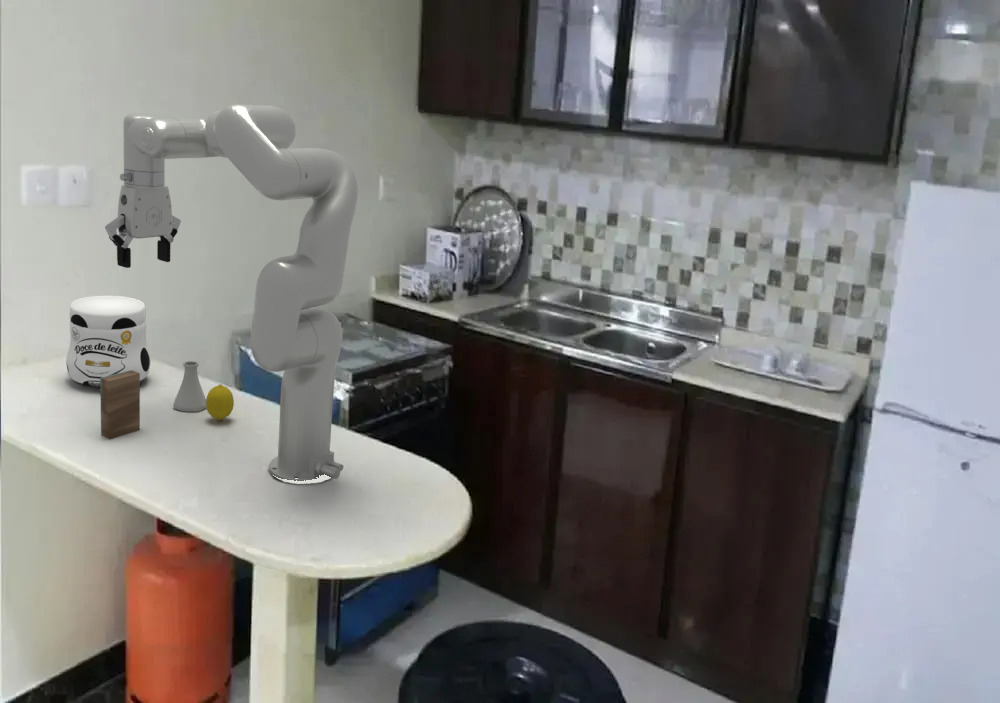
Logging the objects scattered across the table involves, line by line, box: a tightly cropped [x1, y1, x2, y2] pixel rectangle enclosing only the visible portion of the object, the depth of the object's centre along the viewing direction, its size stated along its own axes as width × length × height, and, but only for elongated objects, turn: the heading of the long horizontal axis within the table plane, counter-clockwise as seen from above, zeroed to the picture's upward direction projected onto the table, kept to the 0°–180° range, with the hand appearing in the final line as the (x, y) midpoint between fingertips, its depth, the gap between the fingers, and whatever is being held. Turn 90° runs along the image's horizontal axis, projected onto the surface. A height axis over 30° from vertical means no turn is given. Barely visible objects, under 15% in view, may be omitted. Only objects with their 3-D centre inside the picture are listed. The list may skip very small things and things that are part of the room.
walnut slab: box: [99, 370, 141, 440], centre depth 182 cm, size 2×7×12 cm, turn 149°
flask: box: [172, 360, 207, 412], centre depth 199 cm, size 7×7×10 cm
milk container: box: [65, 294, 151, 389], centre depth 206 cm, size 17×17×18 cm
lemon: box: [205, 384, 235, 422], centre depth 193 cm, size 6×6×8 cm
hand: (144, 263), depth 188 cm, fingers open, 9 cm apart
